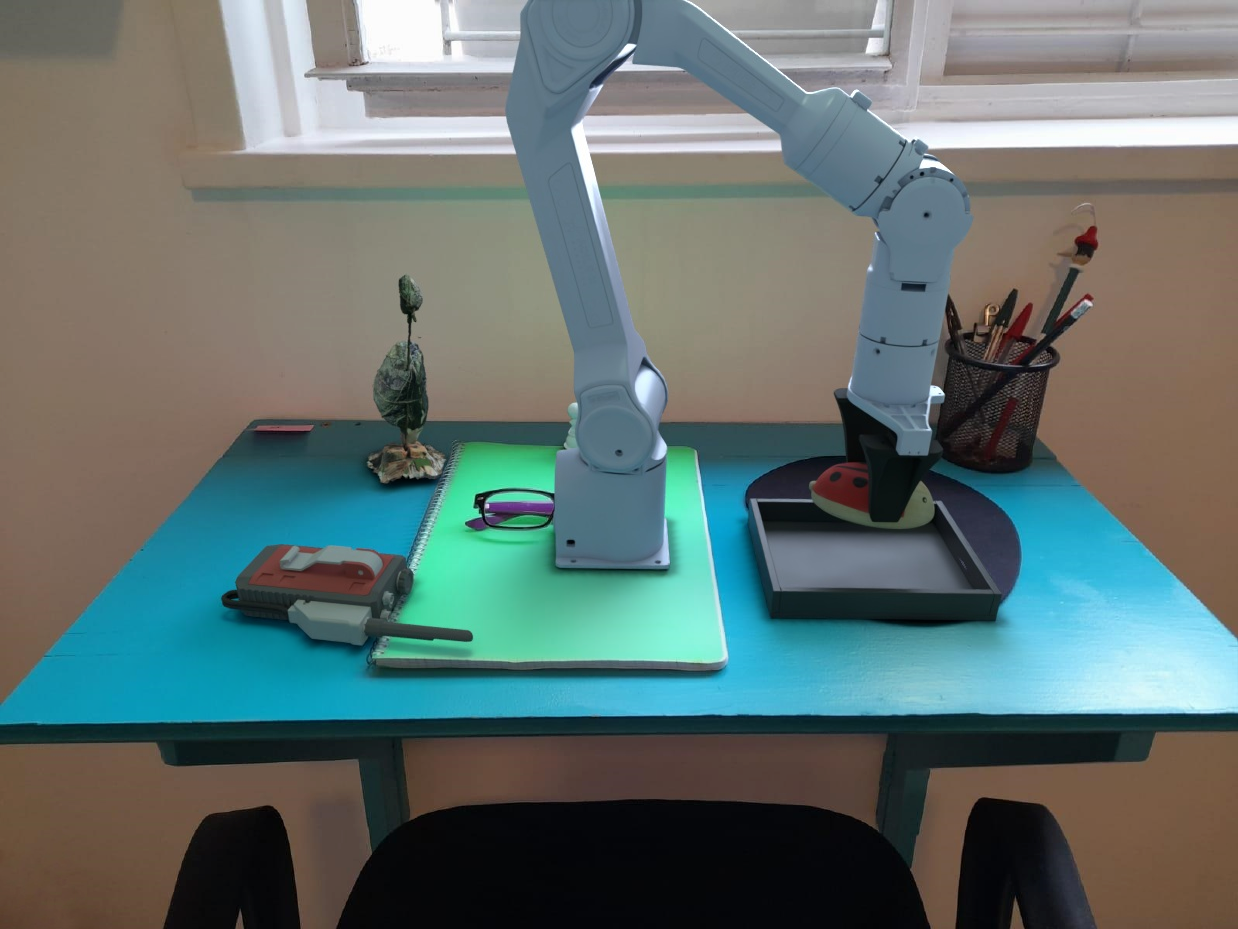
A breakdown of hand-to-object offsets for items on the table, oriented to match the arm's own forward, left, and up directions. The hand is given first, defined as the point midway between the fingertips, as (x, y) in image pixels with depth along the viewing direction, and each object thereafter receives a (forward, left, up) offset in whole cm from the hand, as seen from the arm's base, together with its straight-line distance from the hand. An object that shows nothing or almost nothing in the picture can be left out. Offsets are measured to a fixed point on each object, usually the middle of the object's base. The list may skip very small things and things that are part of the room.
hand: (872, 496), depth 70 cm
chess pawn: (-31, +9, -8) cm, 33 cm away
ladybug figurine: (0, 0, -2) cm, 2 cm away
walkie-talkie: (-40, -7, -7) cm, 41 cm away
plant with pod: (-42, +18, -7) cm, 46 cm away
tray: (0, 0, -7) cm, 7 cm away
